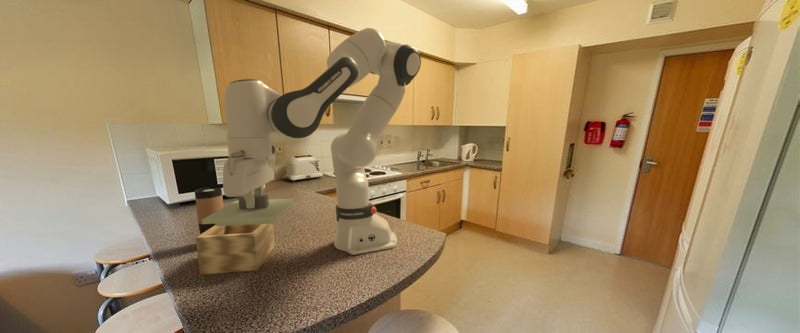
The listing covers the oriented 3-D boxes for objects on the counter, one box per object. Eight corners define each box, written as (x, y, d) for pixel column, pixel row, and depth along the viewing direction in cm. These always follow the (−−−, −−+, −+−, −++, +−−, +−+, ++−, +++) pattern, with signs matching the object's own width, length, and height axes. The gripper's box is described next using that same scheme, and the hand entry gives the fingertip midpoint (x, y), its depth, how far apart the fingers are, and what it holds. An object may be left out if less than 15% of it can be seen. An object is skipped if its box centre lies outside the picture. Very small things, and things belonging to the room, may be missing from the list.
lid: (294, 206, 70) (293, 188, 70) (277, 225, 56) (275, 203, 55) (237, 208, 68) (235, 189, 67) (202, 229, 53) (200, 206, 53)
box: (274, 246, 87) (272, 216, 85) (257, 269, 72) (254, 233, 71) (228, 249, 84) (224, 218, 83) (200, 274, 70) (195, 237, 68)
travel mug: (206, 250, 84) (199, 192, 82) (197, 244, 88) (190, 190, 86) (231, 241, 91) (225, 188, 88) (221, 237, 95) (215, 186, 92)
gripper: (244, 153, 50) (250, 219, 52) (278, 147, 70) (281, 194, 72) (210, 153, 49) (216, 220, 51) (253, 147, 69) (257, 195, 71)
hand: (254, 205), depth 61 cm, fingers closed on lid
